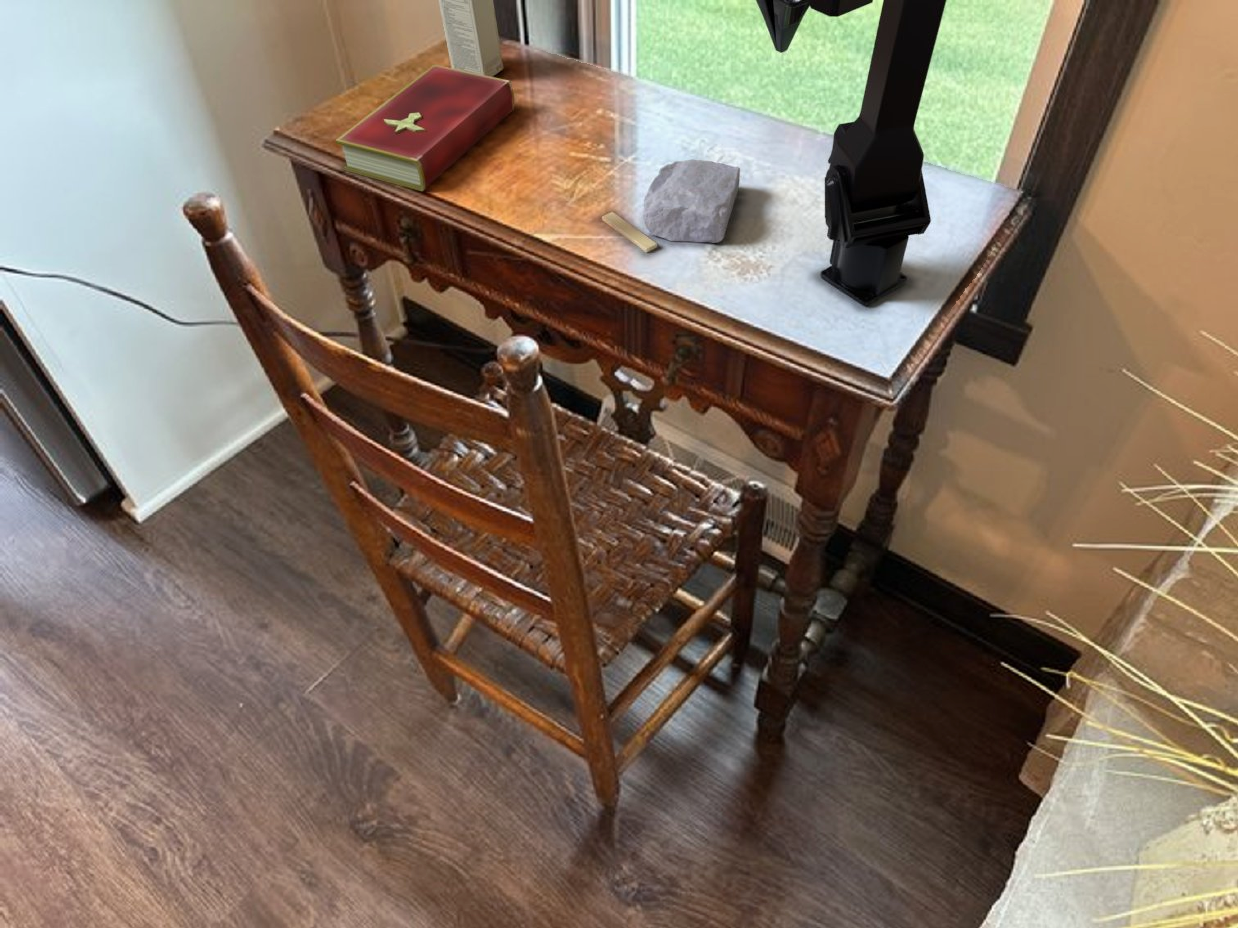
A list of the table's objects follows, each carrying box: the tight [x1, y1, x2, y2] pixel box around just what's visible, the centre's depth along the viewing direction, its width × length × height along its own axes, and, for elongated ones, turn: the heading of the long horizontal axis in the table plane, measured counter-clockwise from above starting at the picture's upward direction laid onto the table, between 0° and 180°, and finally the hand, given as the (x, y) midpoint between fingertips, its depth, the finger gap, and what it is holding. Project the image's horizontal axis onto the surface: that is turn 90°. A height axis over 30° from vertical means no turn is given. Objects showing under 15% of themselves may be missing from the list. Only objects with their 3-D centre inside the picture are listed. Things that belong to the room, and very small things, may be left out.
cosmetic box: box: [438, 0, 504, 77], centre depth 123 cm, size 6×4×12 cm
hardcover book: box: [334, 63, 515, 192], centre depth 114 cm, size 12×21×4 cm, turn 154°
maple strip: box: [601, 211, 658, 253], centre depth 101 cm, size 8×2×1 cm, turn 38°
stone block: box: [642, 158, 741, 244], centre depth 102 cm, size 12×5×10 cm
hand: (781, 50), depth 102 cm, fingers closed
